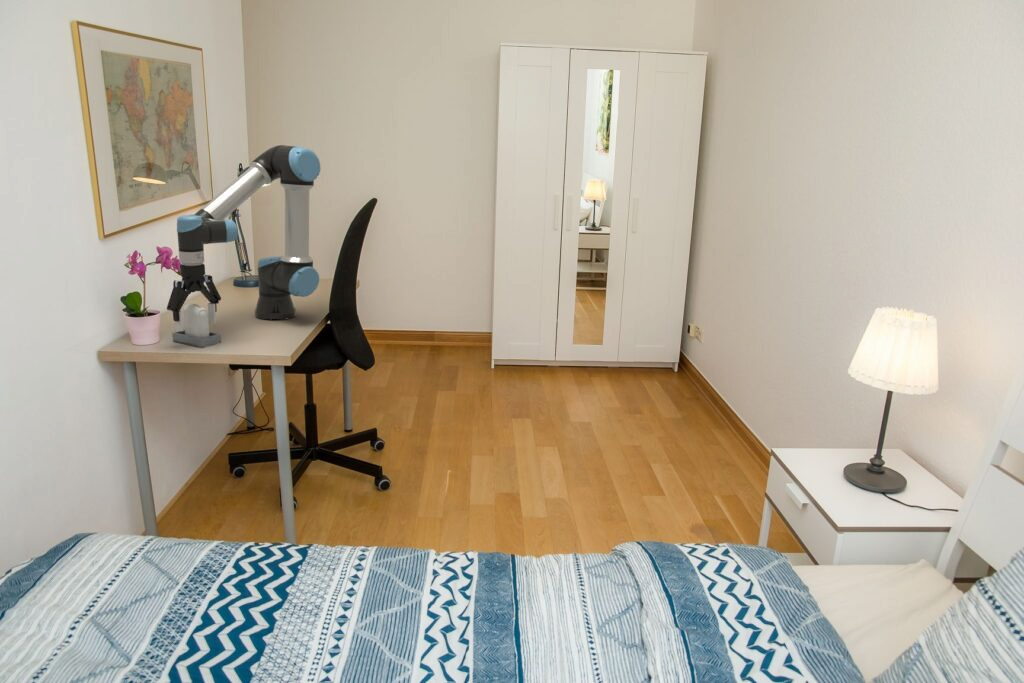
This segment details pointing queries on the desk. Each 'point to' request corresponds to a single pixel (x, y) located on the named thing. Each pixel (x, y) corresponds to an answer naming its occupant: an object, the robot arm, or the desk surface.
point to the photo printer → (196, 321)
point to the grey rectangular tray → (196, 339)
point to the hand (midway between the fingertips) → (196, 326)
